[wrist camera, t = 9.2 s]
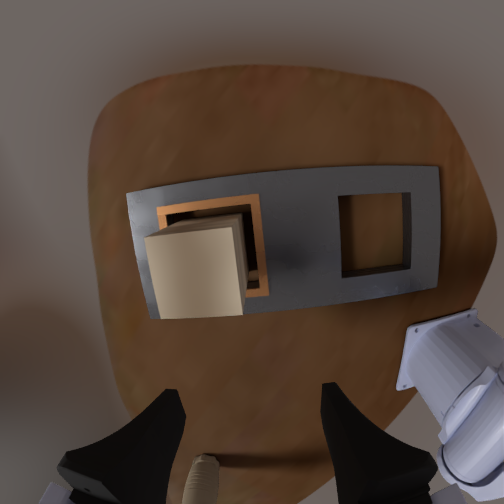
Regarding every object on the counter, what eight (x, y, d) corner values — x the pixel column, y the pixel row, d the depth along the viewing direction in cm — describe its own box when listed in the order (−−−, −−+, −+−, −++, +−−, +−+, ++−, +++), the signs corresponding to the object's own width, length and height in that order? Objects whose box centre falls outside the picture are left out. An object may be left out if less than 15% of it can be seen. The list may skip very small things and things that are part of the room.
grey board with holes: (428, 167, 19) (439, 166, 17) (428, 281, 21) (438, 287, 19) (134, 192, 20) (124, 193, 18) (156, 311, 22) (149, 320, 21)
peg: (242, 212, 20) (231, 227, 13) (248, 271, 21) (242, 314, 14) (183, 219, 21) (143, 237, 13) (192, 276, 22) (160, 318, 14)
